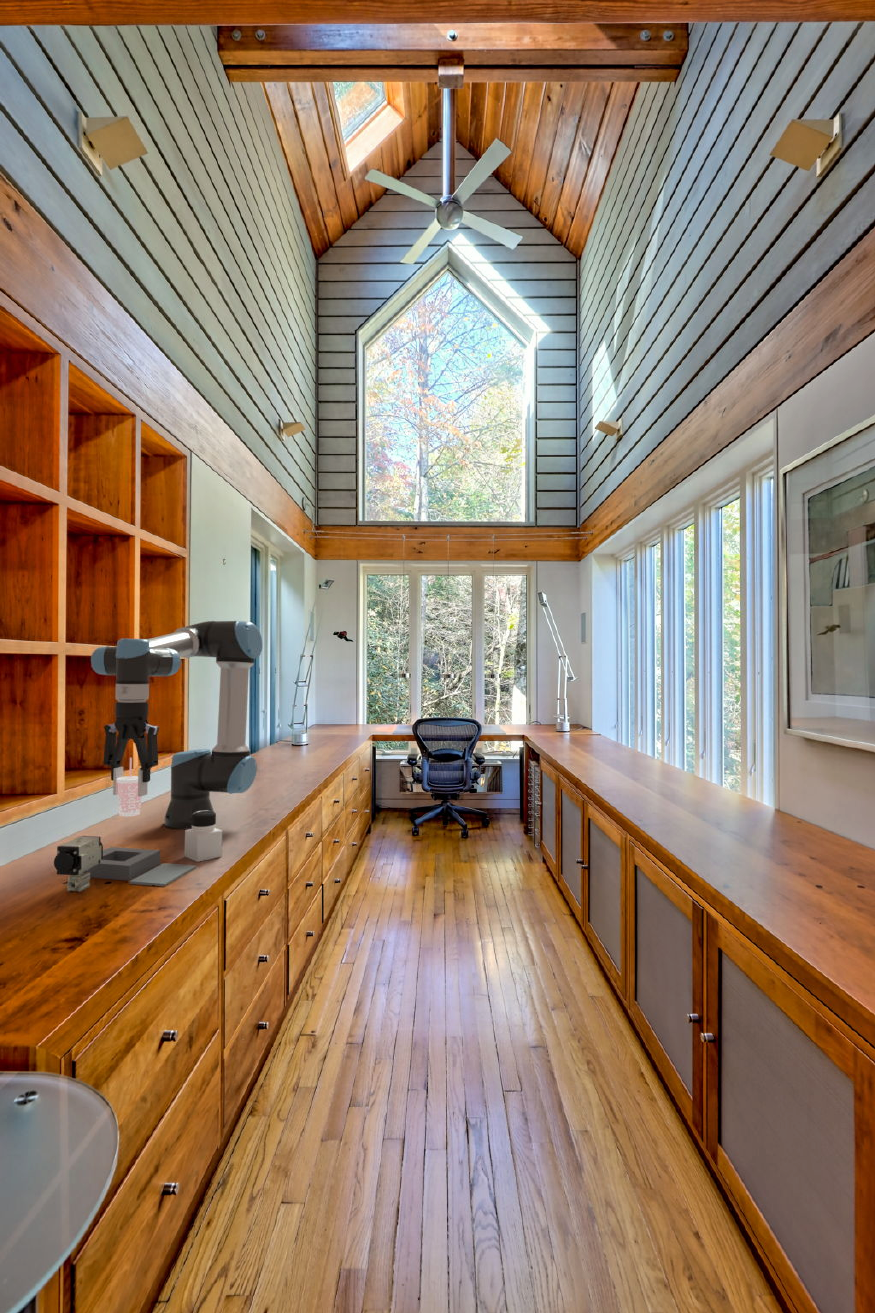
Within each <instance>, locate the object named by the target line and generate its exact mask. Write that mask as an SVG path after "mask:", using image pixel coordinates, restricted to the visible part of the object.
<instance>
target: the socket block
mask: <svg viewBox="0 0 875 1313" xmlns="http://www.w3.org/2000/svg"><path fill="white" fill-rule="evenodd" d="M159 865H161V850H159V849H148V848H147V849H145V848H130V847H119V846H118V847H117V846H110V847H107V848H105V849H103V858H102V859H101V860H100V863H99V864H97V865H95V866H93V867H91V868H90V869H89V870H87V871H84V872H82V873H87V872H89V873H90V879H91V878H92V879H93V878H94V879H105V880H115V881H116V880H117V881H118V880H119V881H131V880H133V879H135V878H137V877H138V876H140V875H142V874H144V873H146V872H148V871H150V870H152V869H154V868H155V867H157V866H159ZM153 867H154V868H153Z"/></svg>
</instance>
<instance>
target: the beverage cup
mask: <svg viewBox="0 0 875 1313" xmlns="http://www.w3.org/2000/svg"><path fill="white" fill-rule="evenodd" d="M132 763H133V757H129V775H128V776H123V777H120V778H117V783H118V808H119V811H118V814H119V815H118V816H120V817H134V816H140V815H141V806H142V804H141V803H142V796H141V797H140V796H138V775H132V774H133V772H132V768H133V764H132Z"/></svg>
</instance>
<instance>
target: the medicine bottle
mask: <svg viewBox="0 0 875 1313" xmlns="http://www.w3.org/2000/svg"><path fill="white" fill-rule="evenodd" d="M216 826H217V813H216V812H215V811H214V812H213V811H208V810H205V811H198V812H195V813H193V815H192V828H188V829H186V830H185V831H184V857H186V858H188V859H190V860H192V861H194V862H196V863H199V862H200V861H201V862H204V860H205V861H208V860H215V859H218V858H221V857H223V830H222V829H219V828H216ZM201 862H200V863H201Z"/></svg>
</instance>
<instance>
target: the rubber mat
mask: <svg viewBox="0 0 875 1313" xmlns="http://www.w3.org/2000/svg"><path fill="white" fill-rule="evenodd" d="M193 869H194V870H195V869H197V865H193V864H178V863H165V862H163V863H160V864H159V865H157V866H155V867H154V868H152V869H150V870H148V871H146V872H144V873H142V874H140V875H138V876H137V877H135V878H133V879H131V880H129V885H139V886H140V885H141V886H152V885H155V886H154V887H166V885H167V884H168V885H171V882H172V883H174V882H175V881H176V879H177V878H179V879H180V878H182V877H184V876H185V875H187V874H188V873H187V872H189V873H190V872H192V871H193ZM186 873H187V874H186ZM184 874H185V875H184ZM183 875H184V876H183ZM181 876H182V877H181ZM174 880H175V881H174ZM177 880H178V879H177ZM173 881H174V882H173ZM168 885H167V886H168Z"/></svg>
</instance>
